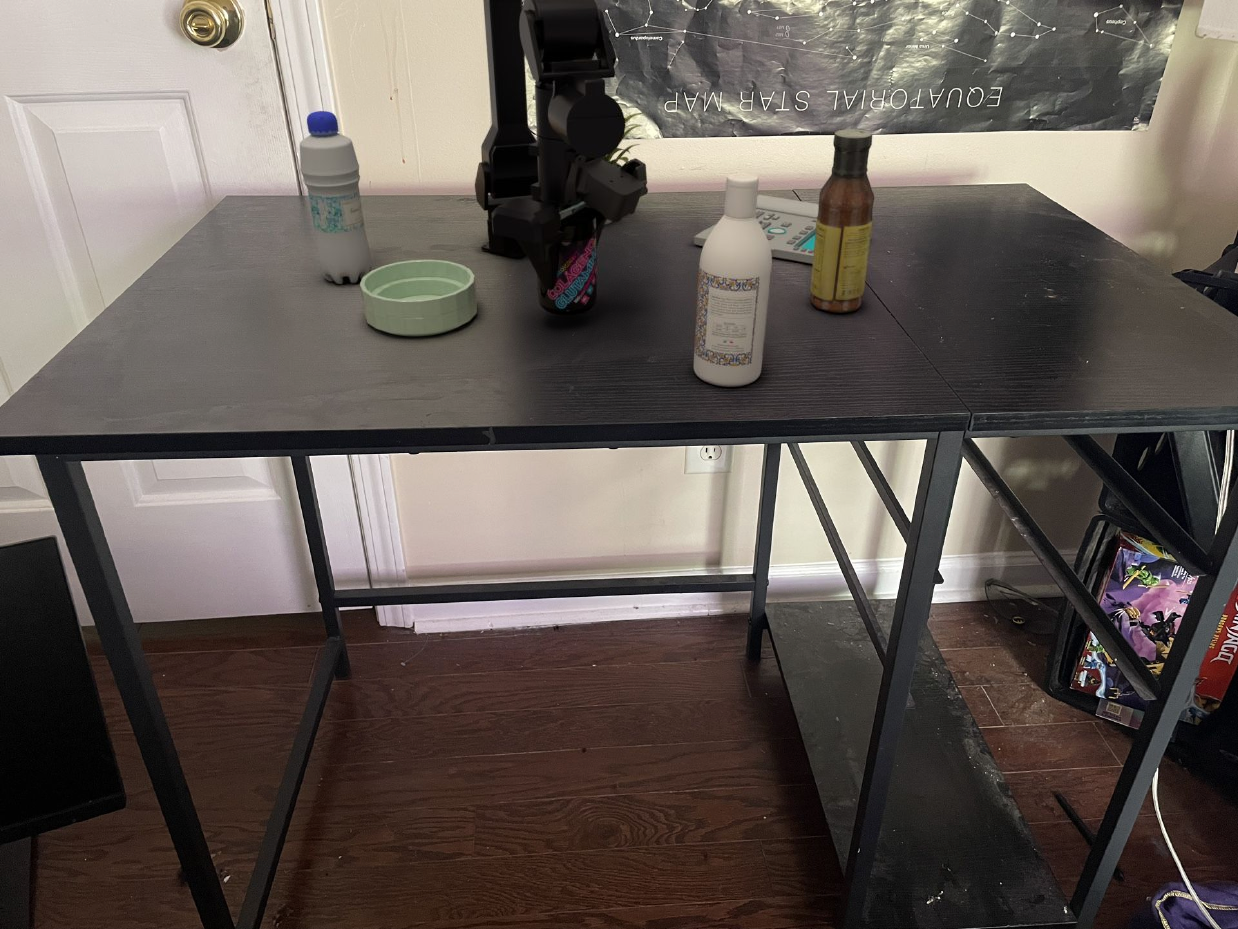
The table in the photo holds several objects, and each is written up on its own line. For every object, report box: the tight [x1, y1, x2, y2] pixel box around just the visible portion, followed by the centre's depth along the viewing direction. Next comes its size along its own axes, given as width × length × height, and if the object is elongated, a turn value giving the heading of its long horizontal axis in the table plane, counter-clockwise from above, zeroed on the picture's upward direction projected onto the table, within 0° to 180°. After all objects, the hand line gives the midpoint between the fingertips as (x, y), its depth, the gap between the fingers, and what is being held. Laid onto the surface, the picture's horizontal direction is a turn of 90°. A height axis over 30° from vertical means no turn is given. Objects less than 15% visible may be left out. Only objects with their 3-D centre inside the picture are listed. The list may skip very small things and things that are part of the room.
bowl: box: [359, 259, 478, 337], centre depth 103 cm, size 13×13×4 cm
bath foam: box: [693, 172, 773, 388], centre depth 87 cm, size 7×7×20 cm
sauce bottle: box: [809, 128, 875, 314], centre depth 103 cm, size 7×6×20 cm
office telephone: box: [693, 194, 819, 265], centre depth 128 cm, size 23×3×20 cm
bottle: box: [299, 110, 372, 285], centre depth 108 cm, size 7×7×20 cm
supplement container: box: [536, 206, 598, 317], centre depth 99 cm, size 7×7×10 cm
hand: (568, 278), depth 100 cm, fingers closed on supplement container, 7 cm apart
